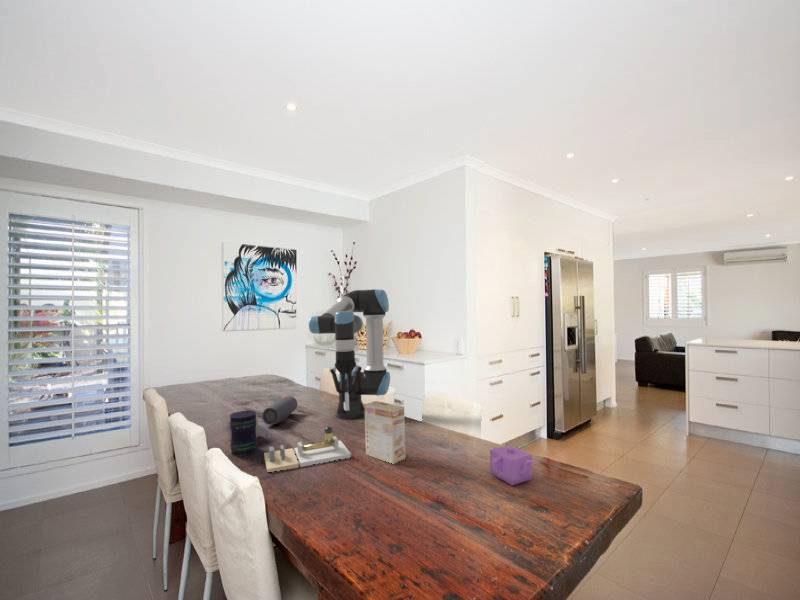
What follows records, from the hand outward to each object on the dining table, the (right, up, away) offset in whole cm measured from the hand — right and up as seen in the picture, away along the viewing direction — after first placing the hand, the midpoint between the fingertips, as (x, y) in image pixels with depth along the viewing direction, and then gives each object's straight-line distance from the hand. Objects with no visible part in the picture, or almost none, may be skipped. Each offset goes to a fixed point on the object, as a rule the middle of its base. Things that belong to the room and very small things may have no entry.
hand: (346, 409), depth 156 cm
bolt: (-10, -14, -4) cm, 18 cm away
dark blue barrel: (-41, -18, +2) cm, 45 cm away
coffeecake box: (+16, -16, -7) cm, 24 cm away
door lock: (-14, -17, -6) cm, 23 cm away
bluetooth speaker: (-39, -17, +42) cm, 60 cm away
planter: (-46, -18, +16) cm, 52 cm away
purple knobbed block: (+57, -15, -29) cm, 66 cm away
